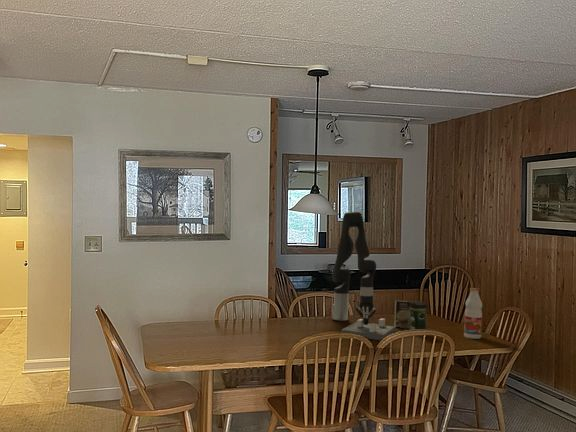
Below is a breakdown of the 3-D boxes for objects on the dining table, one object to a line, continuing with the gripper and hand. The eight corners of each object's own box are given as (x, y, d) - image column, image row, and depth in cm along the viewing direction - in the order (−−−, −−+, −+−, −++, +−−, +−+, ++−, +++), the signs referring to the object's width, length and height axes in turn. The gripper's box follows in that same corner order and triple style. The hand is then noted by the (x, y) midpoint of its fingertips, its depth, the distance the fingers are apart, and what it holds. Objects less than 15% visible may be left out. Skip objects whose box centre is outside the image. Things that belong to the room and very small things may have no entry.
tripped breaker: (356, 326, 328) (357, 320, 328) (359, 325, 332) (359, 318, 332) (360, 327, 327) (361, 320, 327) (363, 325, 331) (363, 319, 331)
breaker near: (369, 331, 315) (369, 324, 315) (372, 330, 320) (372, 323, 320) (373, 332, 314) (373, 325, 314) (376, 330, 319) (376, 323, 319)
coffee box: (394, 327, 345) (395, 301, 345) (393, 325, 352) (394, 299, 352) (410, 328, 345) (411, 302, 344) (409, 326, 351) (409, 300, 351)
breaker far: (378, 326, 331) (378, 319, 331) (381, 324, 336) (381, 318, 336) (382, 326, 330) (382, 320, 330) (385, 325, 335) (385, 318, 335)
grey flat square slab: (341, 334, 321) (341, 329, 321) (356, 326, 344) (356, 321, 344) (382, 340, 310) (382, 334, 310) (395, 331, 334) (395, 326, 334)
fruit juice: (481, 336, 329) (483, 288, 329) (480, 339, 320) (482, 290, 320) (464, 334, 333) (466, 286, 332) (463, 337, 324) (465, 288, 323)
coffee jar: (419, 331, 338) (420, 300, 338) (428, 334, 331) (429, 302, 330) (406, 332, 334) (407, 300, 333) (414, 335, 327) (415, 302, 326)
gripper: (353, 294, 327) (353, 324, 327) (375, 296, 322) (375, 326, 322) (357, 293, 334) (357, 322, 334) (379, 294, 329) (379, 324, 329)
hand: (366, 324), depth 328 cm, fingers closed
